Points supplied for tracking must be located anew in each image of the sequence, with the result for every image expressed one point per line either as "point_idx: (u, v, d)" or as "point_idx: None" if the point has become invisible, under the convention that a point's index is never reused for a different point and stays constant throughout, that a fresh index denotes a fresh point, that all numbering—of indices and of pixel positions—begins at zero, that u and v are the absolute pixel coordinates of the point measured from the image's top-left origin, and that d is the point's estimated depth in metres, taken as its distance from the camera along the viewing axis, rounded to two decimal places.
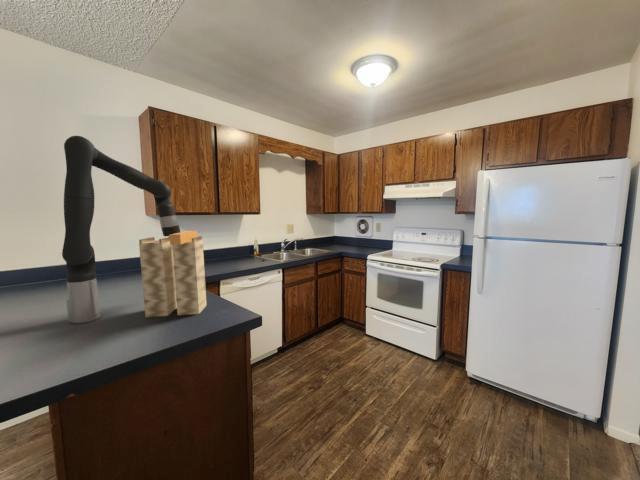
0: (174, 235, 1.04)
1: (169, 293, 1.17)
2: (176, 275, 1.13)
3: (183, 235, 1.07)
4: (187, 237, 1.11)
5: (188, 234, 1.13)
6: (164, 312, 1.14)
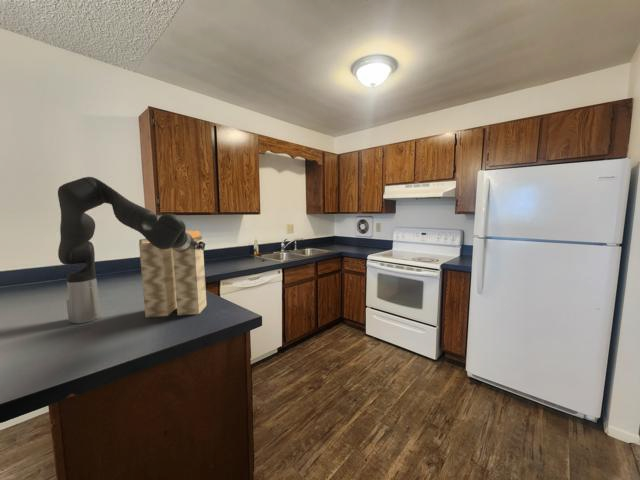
0: None
1: (169, 293, 1.17)
2: (176, 275, 1.13)
3: None
4: None
5: (191, 232, 1.15)
6: (164, 312, 1.14)
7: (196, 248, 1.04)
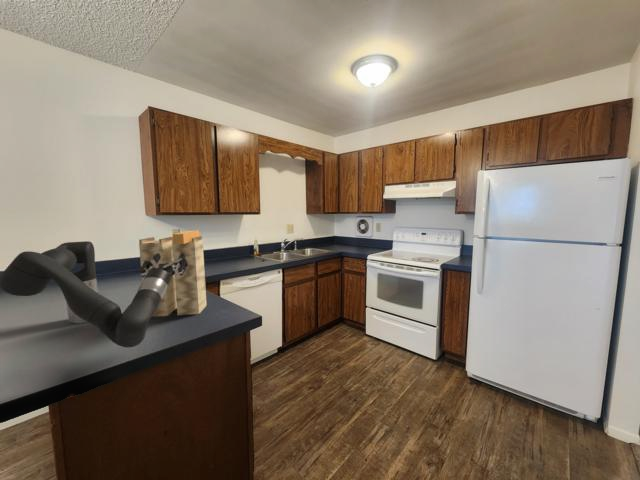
0: (177, 235, 1.05)
1: (169, 293, 1.17)
2: (176, 275, 1.13)
3: (186, 235, 1.09)
4: (190, 236, 1.13)
5: (191, 234, 1.15)
6: (164, 312, 1.14)
7: (179, 267, 0.96)
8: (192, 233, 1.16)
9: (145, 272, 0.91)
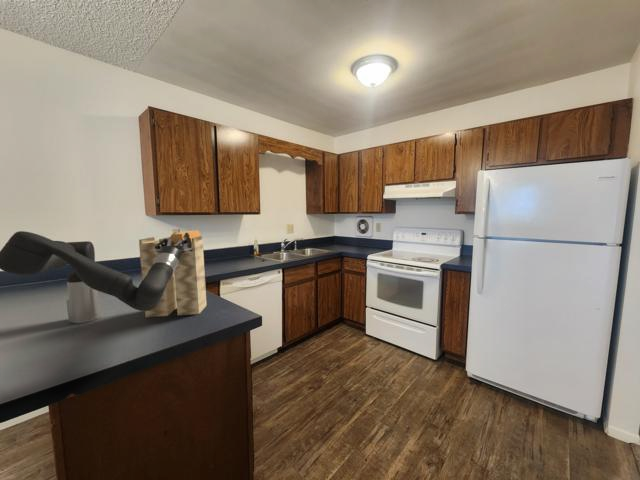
0: (176, 235, 1.05)
1: (169, 293, 1.17)
2: (176, 275, 1.13)
3: None
4: None
5: (190, 234, 1.14)
6: (164, 312, 1.14)
7: None
8: (192, 233, 1.16)
9: (159, 248, 1.01)
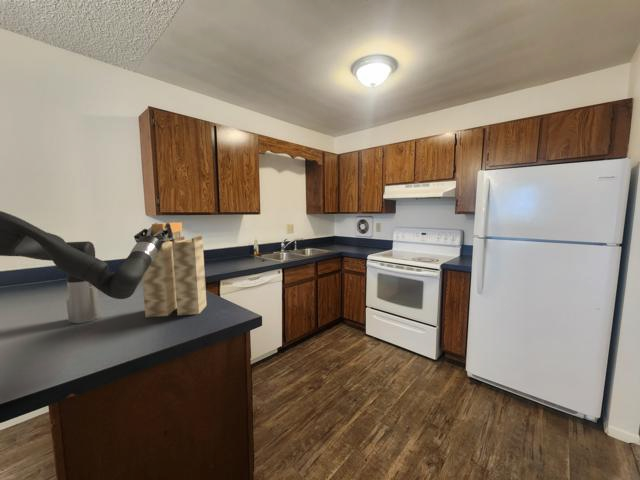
0: (157, 225, 1.04)
1: (169, 293, 1.17)
2: (176, 275, 1.13)
3: None
4: None
5: (172, 225, 1.13)
6: (164, 312, 1.14)
7: None
8: (173, 224, 1.15)
9: (138, 238, 1.00)
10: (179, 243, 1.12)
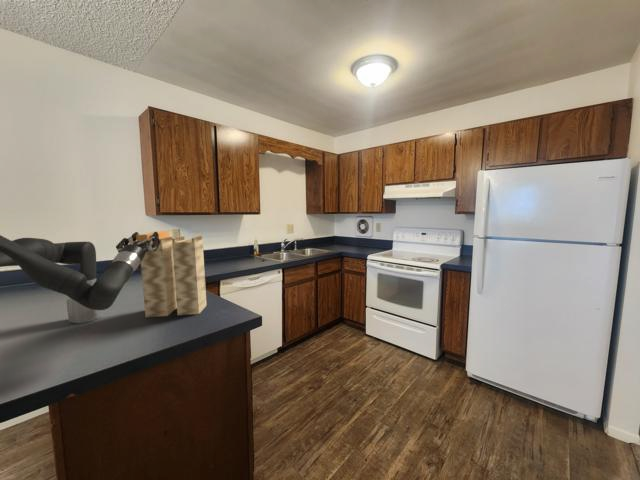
0: (141, 235, 1.04)
1: (169, 293, 1.17)
2: (176, 275, 1.13)
3: (151, 235, 1.07)
4: None
5: (158, 234, 1.13)
6: (164, 312, 1.14)
7: None
8: (160, 234, 1.15)
9: (121, 248, 0.99)
10: (179, 243, 1.12)
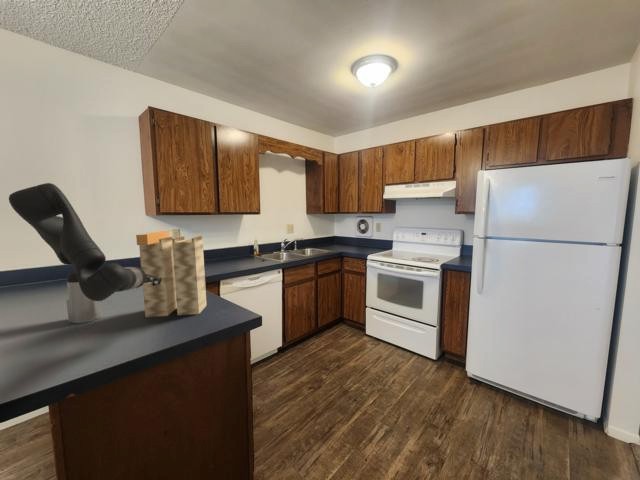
0: (141, 235, 1.04)
1: (169, 293, 1.17)
2: (176, 275, 1.13)
3: (151, 235, 1.07)
4: (156, 237, 1.12)
5: (158, 234, 1.13)
6: (164, 312, 1.14)
7: (151, 282, 0.98)
8: (160, 234, 1.15)
9: None
10: (179, 243, 1.12)
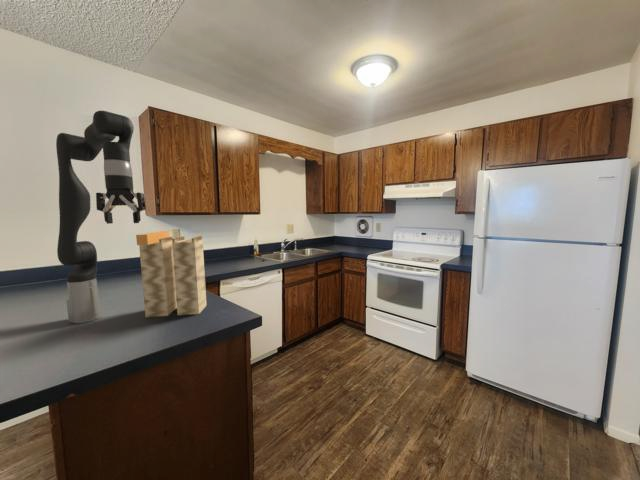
0: (141, 235, 1.04)
1: (169, 293, 1.17)
2: (176, 275, 1.13)
3: (151, 235, 1.07)
4: (156, 237, 1.12)
5: (158, 234, 1.13)
6: (164, 312, 1.14)
7: (133, 205, 0.90)
8: (160, 234, 1.15)
9: None
10: (179, 243, 1.12)
